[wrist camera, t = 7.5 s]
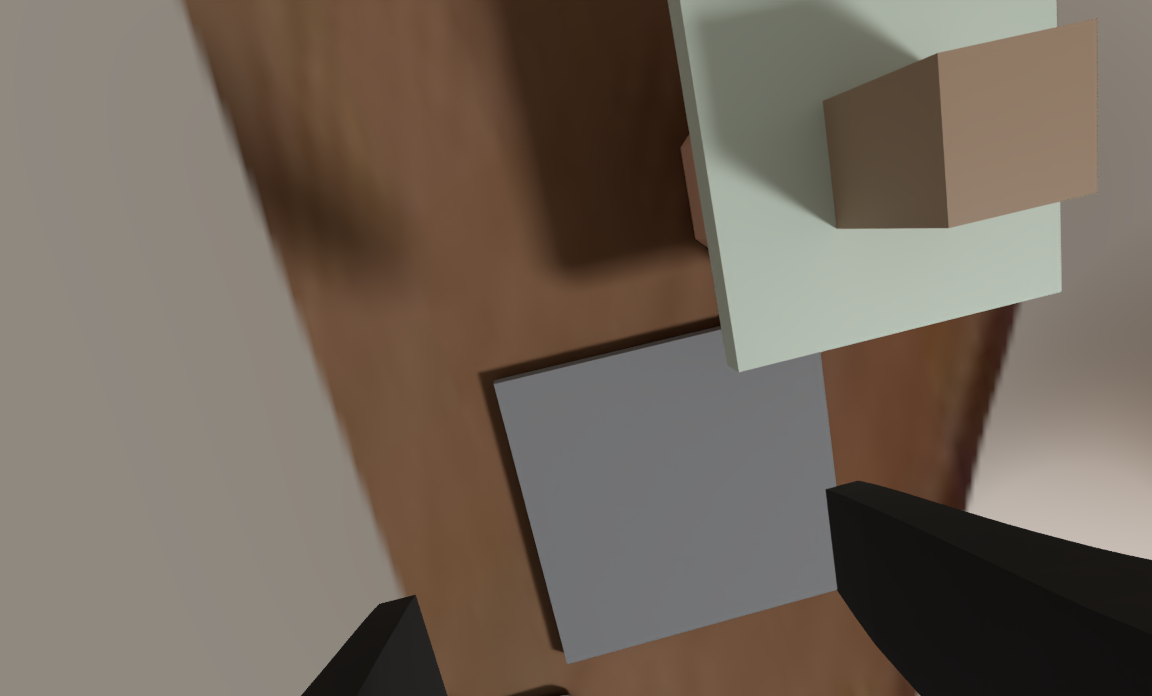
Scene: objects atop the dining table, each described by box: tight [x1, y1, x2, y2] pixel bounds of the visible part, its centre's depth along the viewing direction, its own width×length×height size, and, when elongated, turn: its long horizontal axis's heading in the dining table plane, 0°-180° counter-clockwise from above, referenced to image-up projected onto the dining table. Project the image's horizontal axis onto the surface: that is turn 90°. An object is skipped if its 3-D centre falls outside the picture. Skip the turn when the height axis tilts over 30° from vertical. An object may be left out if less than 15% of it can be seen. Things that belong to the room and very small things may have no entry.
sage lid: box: [668, 0, 1098, 372], centre depth 12 cm, size 9×9×4 cm
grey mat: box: [494, 326, 837, 664], centre depth 20 cm, size 11×11×1 cm
